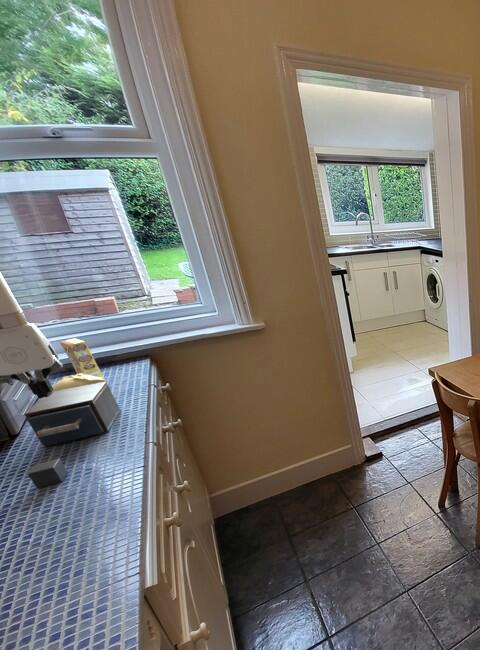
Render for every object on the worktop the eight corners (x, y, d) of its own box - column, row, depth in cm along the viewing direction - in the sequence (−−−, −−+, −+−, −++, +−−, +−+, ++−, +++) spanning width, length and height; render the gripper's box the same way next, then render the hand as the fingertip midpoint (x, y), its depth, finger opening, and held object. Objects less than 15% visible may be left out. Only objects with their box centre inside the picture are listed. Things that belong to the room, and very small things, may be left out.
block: (37, 489, 88) (27, 473, 87) (44, 479, 91) (34, 464, 90) (62, 482, 90) (53, 467, 88) (68, 473, 93) (59, 458, 92)
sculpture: (123, 400, 128) (107, 368, 124) (80, 419, 118) (62, 385, 113) (94, 398, 130) (77, 367, 126) (49, 417, 120) (29, 383, 115)
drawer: (97, 440, 104) (82, 413, 101) (35, 455, 99) (17, 427, 96) (114, 412, 119) (102, 388, 115) (61, 424, 114) (46, 399, 110)
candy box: (107, 382, 142) (86, 340, 136) (91, 387, 139) (69, 344, 133) (96, 378, 146) (75, 337, 140) (81, 383, 143) (58, 341, 137)
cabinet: (108, 431, 110) (91, 400, 106) (44, 446, 104) (23, 414, 100) (120, 410, 122) (106, 381, 118) (63, 423, 116) (45, 393, 112)
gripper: (-58, 333, 85) (-6, 410, 93) (41, 319, 92) (82, 392, 99) (-39, 325, 91) (9, 398, 98) (53, 312, 97) (91, 382, 105)
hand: (46, 395), depth 99 cm, fingers closed
